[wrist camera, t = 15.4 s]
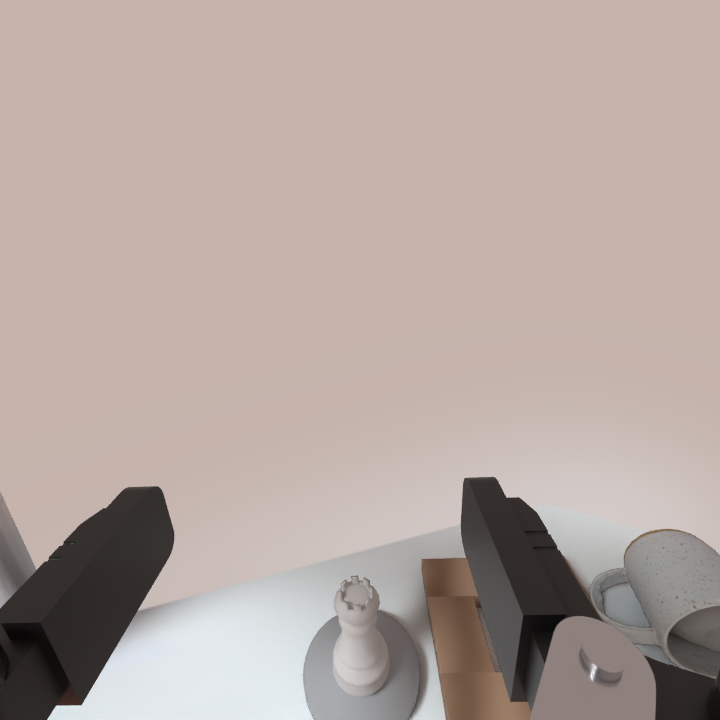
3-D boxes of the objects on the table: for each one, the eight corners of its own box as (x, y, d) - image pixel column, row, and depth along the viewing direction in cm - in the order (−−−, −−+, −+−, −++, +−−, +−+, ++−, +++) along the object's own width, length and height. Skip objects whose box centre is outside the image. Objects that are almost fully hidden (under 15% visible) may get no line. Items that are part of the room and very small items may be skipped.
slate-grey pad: (294, 747, 25) (293, 740, 25) (312, 615, 33) (311, 609, 33) (428, 746, 25) (428, 739, 24) (412, 613, 33) (412, 607, 33)
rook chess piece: (389, 704, 26) (386, 626, 24) (327, 698, 27) (318, 620, 24) (391, 638, 30) (388, 566, 28) (337, 634, 31) (330, 562, 28)
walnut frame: (452, 756, 24) (453, 743, 24) (421, 569, 37) (421, 559, 37) (670, 754, 24) (675, 741, 23) (561, 566, 37) (563, 555, 36)
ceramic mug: (698, 587, 34) (720, 521, 32) (774, 690, 27) (810, 615, 24) (573, 575, 36) (584, 512, 34) (611, 667, 29) (628, 596, 26)
